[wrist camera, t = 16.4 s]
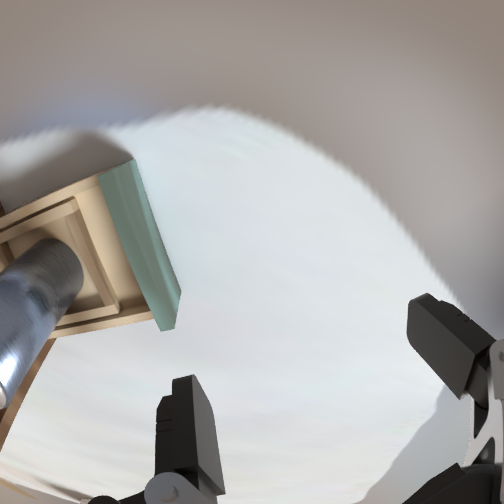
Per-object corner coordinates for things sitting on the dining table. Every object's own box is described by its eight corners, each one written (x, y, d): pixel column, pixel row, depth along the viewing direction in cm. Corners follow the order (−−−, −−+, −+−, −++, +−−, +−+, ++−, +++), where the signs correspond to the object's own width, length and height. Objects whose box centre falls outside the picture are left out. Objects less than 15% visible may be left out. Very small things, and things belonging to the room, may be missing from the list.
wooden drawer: (33, 324, 25) (12, 355, 20) (-15, 225, 20) (-47, 247, 16) (181, 291, 25) (174, 328, 20) (135, 158, 20) (112, 170, 16)
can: (80, 308, 22) (15, 425, 11) (27, 286, 21) (-52, 383, 10) (88, 251, 20) (-3, 364, 9) (30, 228, 19) (-75, 315, 8)
